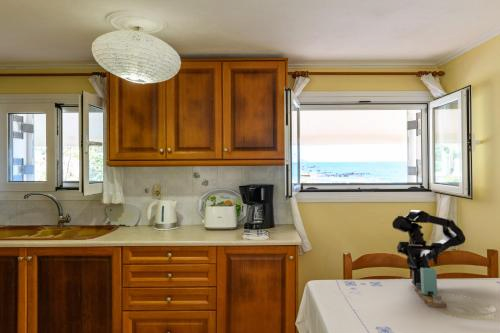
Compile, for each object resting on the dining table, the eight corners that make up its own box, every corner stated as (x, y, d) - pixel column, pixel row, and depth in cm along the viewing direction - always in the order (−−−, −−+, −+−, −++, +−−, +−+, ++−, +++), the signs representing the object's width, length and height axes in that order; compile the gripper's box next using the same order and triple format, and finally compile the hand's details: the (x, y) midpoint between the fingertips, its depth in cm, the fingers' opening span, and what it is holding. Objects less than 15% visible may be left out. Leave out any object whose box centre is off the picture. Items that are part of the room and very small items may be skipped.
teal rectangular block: (421, 291, 142) (420, 267, 142) (434, 292, 141) (433, 268, 141) (424, 294, 138) (423, 270, 138) (437, 295, 137) (436, 270, 137)
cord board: (415, 290, 148) (414, 281, 149) (430, 291, 147) (430, 282, 147) (429, 306, 129) (428, 296, 130) (447, 307, 128) (446, 296, 128)
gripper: (430, 245, 161) (441, 274, 150) (390, 243, 163) (398, 272, 151) (438, 231, 153) (450, 261, 142) (396, 230, 155) (405, 259, 144)
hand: (425, 264), depth 145 cm, fingers open, 9 cm apart
